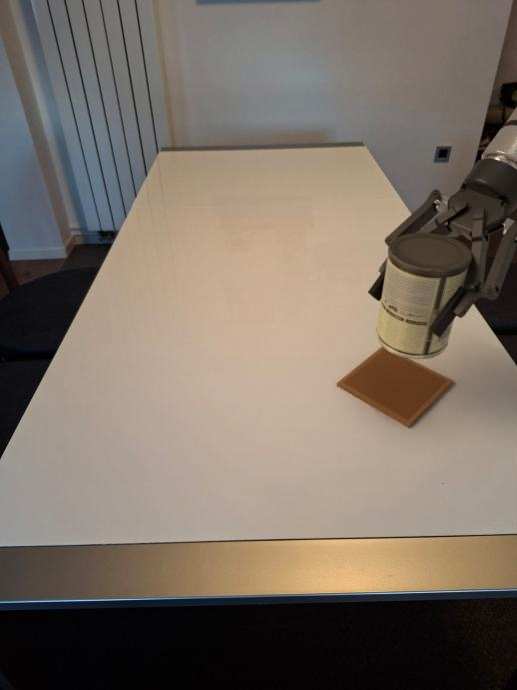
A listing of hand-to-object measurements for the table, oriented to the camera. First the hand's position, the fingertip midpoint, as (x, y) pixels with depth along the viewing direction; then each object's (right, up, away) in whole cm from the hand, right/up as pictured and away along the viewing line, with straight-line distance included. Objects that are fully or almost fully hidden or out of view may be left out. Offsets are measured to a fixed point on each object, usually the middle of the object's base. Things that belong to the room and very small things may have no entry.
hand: (402, 314), depth 67 cm
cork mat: (+4, -11, +17) cm, 21 cm away
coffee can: (+3, -3, +5) cm, 6 cm away
